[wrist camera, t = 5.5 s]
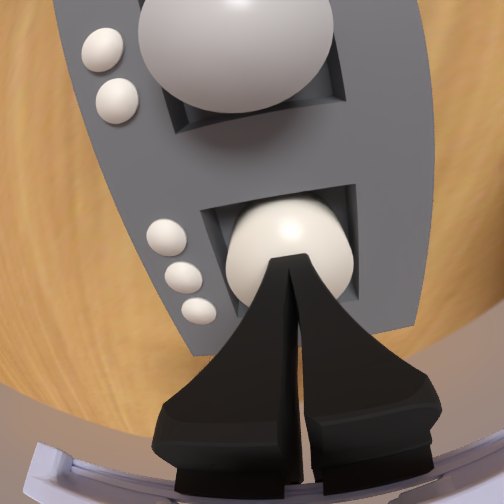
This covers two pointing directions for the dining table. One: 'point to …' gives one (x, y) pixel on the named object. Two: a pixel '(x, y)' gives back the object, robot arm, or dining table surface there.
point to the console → (265, 160)
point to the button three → (287, 242)
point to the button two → (234, 49)
